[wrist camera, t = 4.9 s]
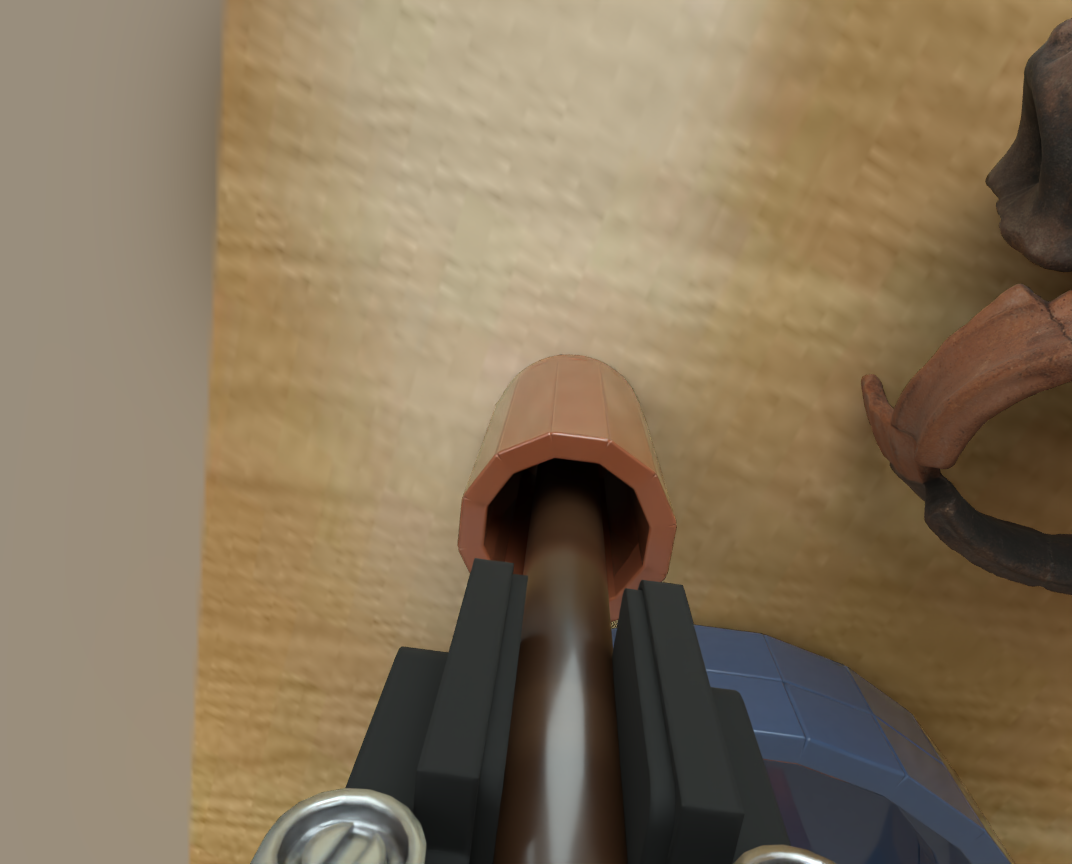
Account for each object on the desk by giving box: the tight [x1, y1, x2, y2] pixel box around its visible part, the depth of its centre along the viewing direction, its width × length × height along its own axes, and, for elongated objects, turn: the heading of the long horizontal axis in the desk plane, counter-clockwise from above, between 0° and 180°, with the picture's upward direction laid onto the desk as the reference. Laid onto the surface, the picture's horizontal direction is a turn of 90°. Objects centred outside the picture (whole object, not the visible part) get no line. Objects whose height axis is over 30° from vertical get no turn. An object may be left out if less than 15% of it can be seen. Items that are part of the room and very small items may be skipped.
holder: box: [457, 355, 677, 622], centre depth 18 cm, size 4×4×7 cm
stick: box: [493, 458, 628, 864], centre depth 13 cm, size 1×1×16 cm
